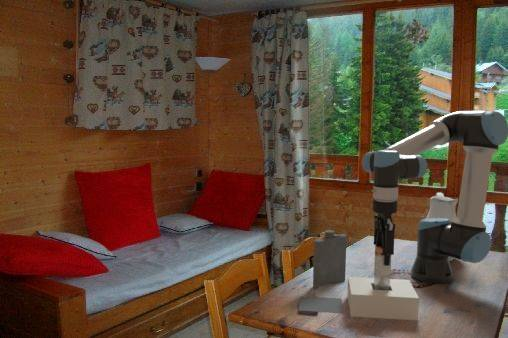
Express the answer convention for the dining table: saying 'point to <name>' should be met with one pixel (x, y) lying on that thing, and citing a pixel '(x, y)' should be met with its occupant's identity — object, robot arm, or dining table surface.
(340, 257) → the hip flask
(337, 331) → the dining table surface
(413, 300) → the bore block
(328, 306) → the slate mat
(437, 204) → the pitcher
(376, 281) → the steel plug
